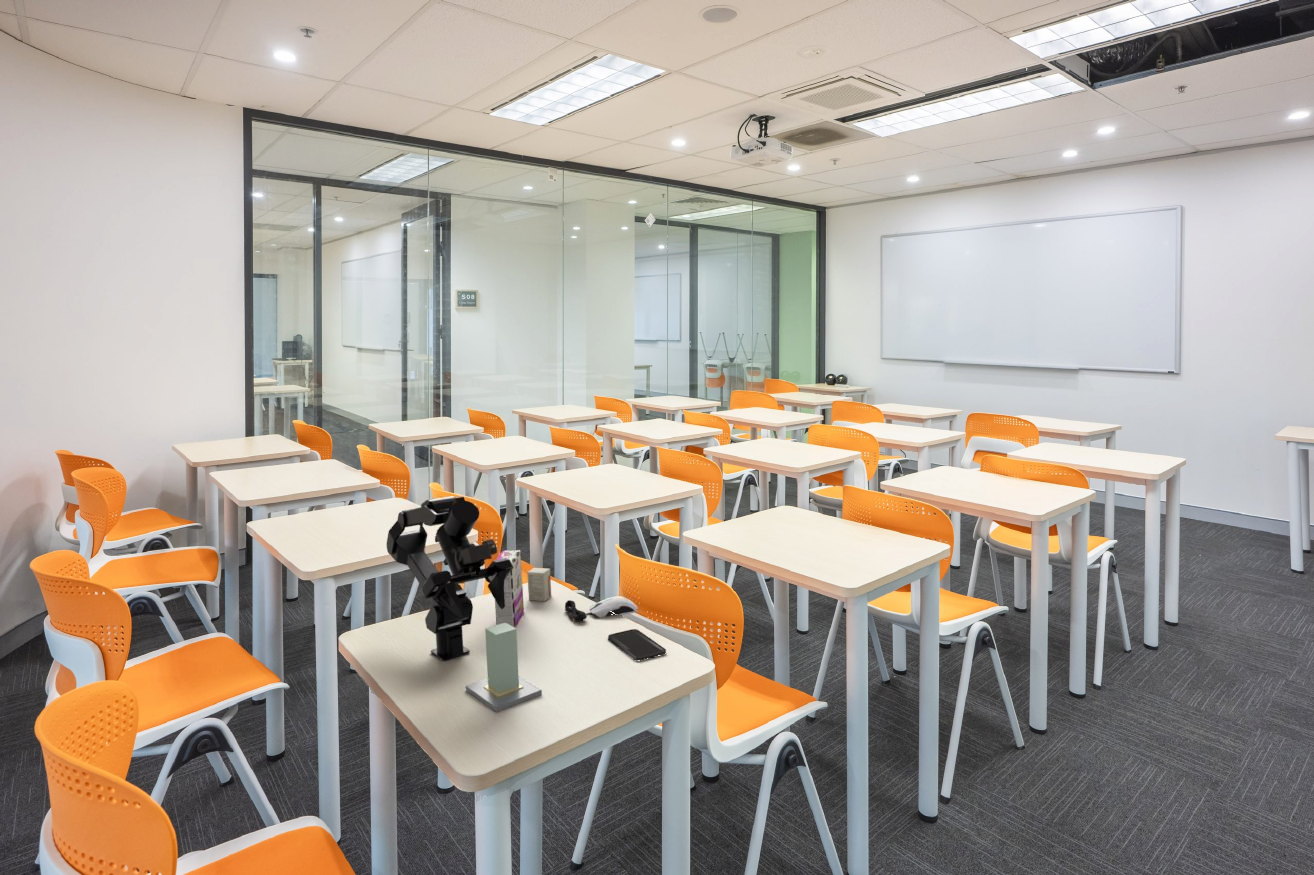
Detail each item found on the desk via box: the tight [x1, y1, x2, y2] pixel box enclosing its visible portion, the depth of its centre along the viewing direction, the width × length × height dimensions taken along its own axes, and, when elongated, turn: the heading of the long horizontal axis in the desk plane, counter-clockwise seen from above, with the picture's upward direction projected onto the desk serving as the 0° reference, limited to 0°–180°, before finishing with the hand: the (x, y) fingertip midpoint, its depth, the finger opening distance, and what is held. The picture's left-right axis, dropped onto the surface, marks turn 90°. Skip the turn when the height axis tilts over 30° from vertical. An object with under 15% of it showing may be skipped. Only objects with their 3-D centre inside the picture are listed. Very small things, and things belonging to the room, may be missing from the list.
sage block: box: [484, 622, 520, 694], centre depth 143 cm, size 4×4×12 cm
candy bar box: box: [494, 549, 525, 628], centre depth 181 cm, size 11×5×16 cm, turn 179°
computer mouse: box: [564, 595, 639, 623], centre depth 186 cm, size 10×18×4 cm, turn 109°
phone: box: [607, 628, 667, 661], centre depth 165 cm, size 8×1×15 cm
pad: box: [465, 674, 543, 713], centre depth 144 cm, size 12×10×1 cm
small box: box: [526, 567, 552, 602], centre depth 197 cm, size 5×4×8 cm
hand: (484, 613), depth 149 cm, fingers open, 9 cm apart
